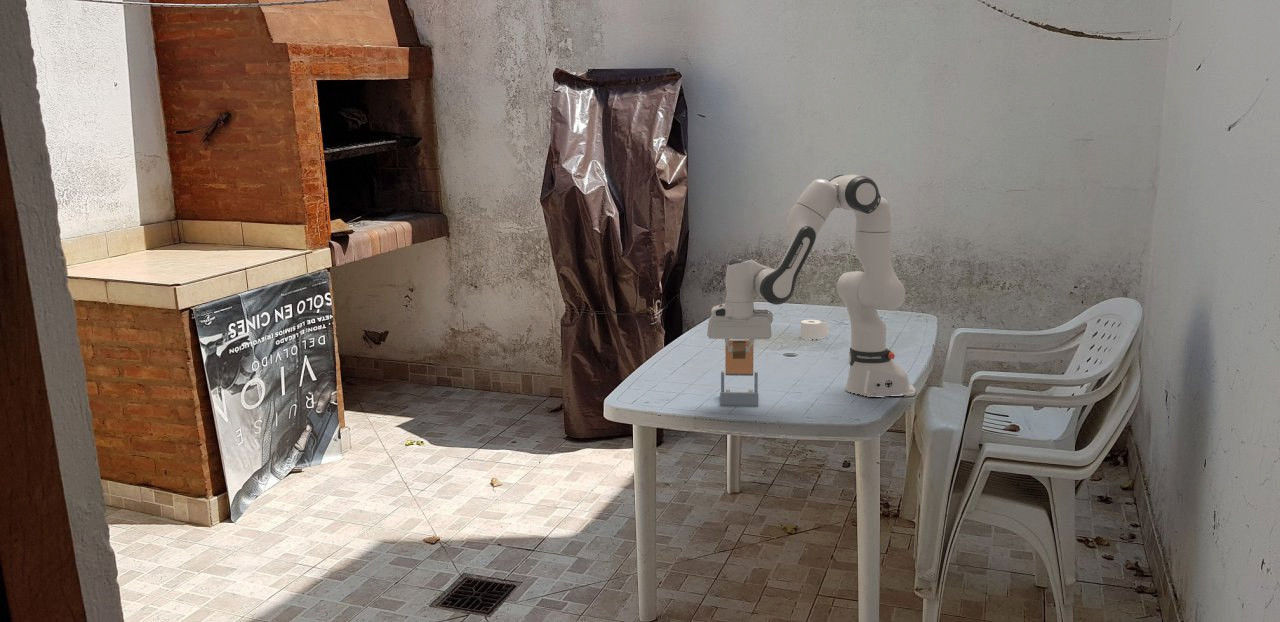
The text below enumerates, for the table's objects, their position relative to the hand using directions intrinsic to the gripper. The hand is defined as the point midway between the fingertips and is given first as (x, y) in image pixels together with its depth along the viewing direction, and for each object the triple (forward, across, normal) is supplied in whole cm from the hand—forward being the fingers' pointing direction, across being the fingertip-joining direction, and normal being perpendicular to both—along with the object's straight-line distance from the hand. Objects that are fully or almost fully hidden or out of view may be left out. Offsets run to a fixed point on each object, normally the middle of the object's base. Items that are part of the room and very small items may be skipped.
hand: (739, 352), depth 310 cm
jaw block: (+2, 0, 0) cm, 2 cm away
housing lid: (+4, 0, -7) cm, 8 cm away
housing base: (+16, 0, -1) cm, 16 cm away
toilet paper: (+16, -31, -92) cm, 99 cm away
